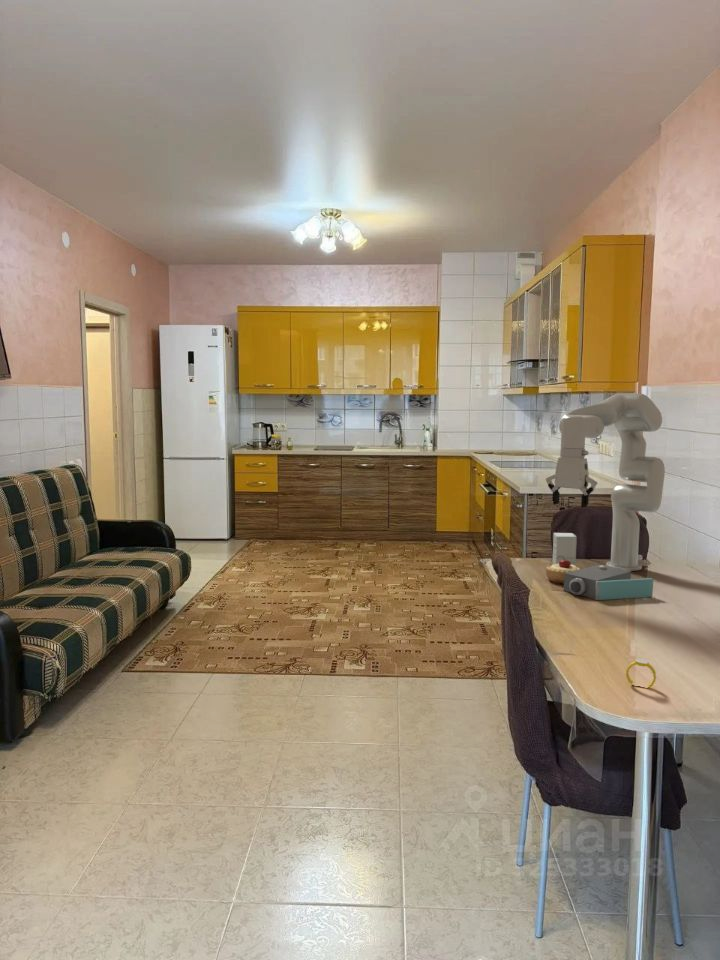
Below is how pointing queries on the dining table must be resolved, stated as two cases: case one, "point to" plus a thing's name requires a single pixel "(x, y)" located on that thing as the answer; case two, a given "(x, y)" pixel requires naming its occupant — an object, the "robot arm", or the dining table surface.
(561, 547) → the supplement box
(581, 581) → the camera body
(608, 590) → the side door
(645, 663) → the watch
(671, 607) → the dining table surface
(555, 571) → the pastry
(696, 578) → the dining table surface
